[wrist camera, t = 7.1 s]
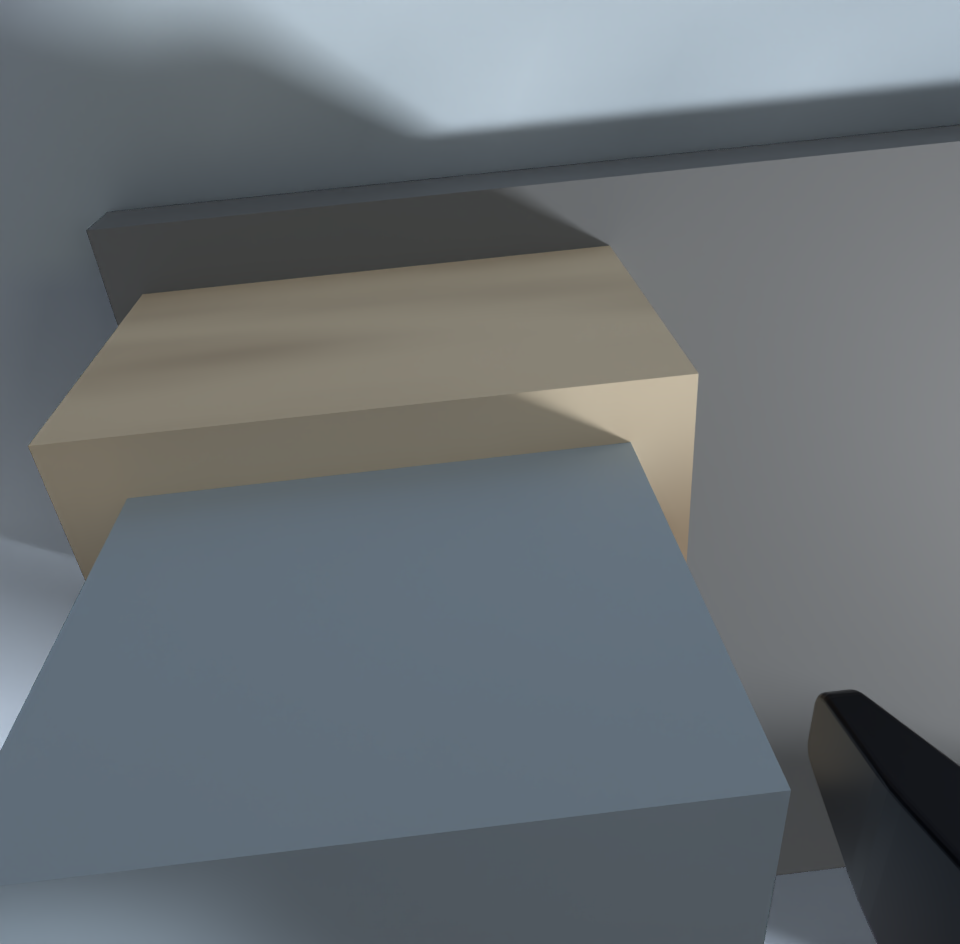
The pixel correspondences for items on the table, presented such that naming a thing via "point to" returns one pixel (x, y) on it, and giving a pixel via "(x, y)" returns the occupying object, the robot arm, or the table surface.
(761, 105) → the table surface
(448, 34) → the table surface
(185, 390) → the block
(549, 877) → the block
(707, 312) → the board
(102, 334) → the table surface
